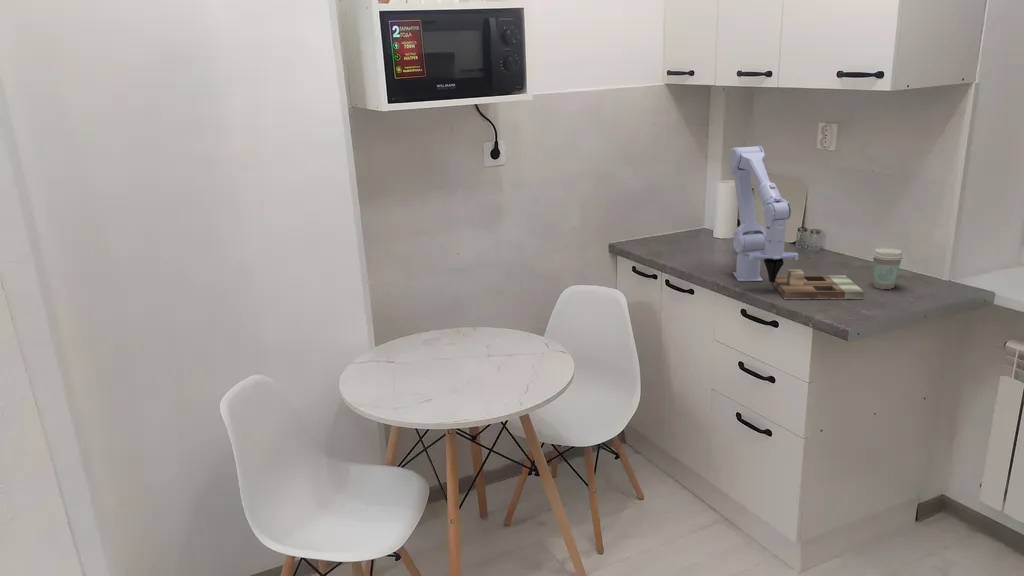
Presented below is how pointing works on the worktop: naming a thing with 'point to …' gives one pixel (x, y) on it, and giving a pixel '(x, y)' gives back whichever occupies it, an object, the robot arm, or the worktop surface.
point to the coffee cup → (886, 267)
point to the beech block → (795, 277)
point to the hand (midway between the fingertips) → (771, 281)
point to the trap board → (820, 287)
